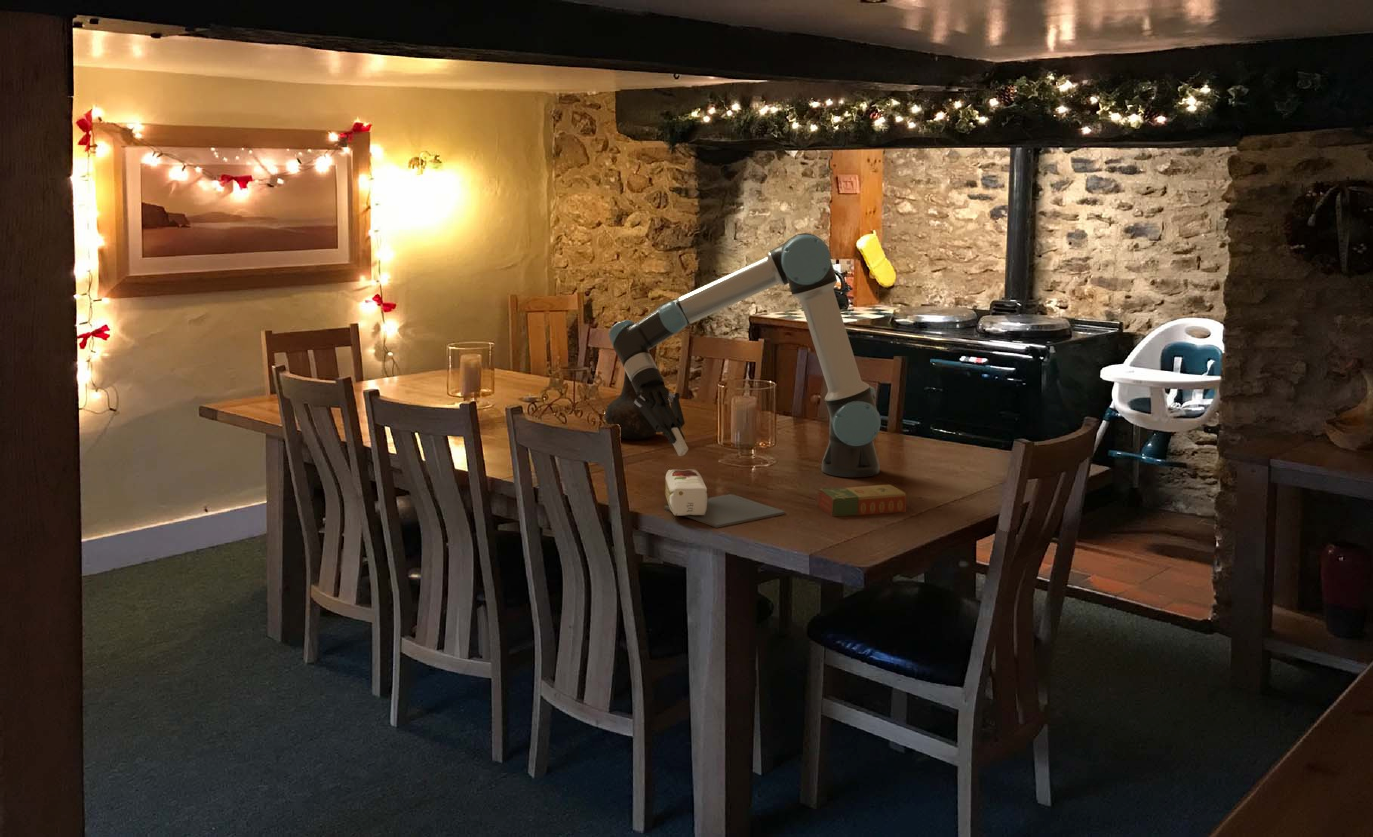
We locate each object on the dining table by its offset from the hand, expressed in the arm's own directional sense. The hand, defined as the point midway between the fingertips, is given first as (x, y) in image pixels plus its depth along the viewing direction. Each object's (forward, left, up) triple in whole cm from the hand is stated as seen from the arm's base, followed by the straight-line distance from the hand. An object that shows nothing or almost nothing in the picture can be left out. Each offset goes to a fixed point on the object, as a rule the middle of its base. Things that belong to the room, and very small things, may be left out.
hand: (683, 452), depth 289 cm
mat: (-14, +8, -11) cm, 19 cm away
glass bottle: (+43, -60, -11) cm, 75 cm away
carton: (-42, -7, -12) cm, 44 cm away
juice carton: (-1, +2, -7) cm, 7 cm away
